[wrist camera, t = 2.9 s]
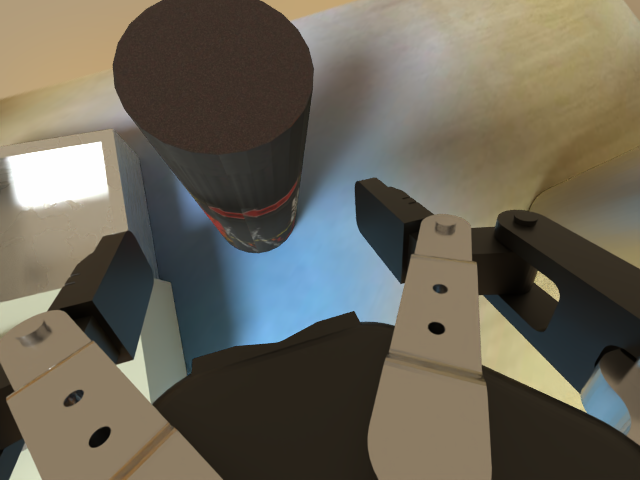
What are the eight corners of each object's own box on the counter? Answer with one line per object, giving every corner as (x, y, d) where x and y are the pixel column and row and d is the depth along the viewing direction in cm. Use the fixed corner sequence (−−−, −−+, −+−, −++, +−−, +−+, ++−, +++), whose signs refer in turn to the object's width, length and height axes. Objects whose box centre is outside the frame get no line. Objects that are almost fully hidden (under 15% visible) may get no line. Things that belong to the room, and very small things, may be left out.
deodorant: (297, 250, 24) (321, 153, 9) (217, 255, 23) (105, 156, 8) (292, 178, 25) (306, -6, 10) (216, 181, 24) (118, -16, 10)
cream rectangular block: (170, 282, 22) (121, 269, 15) (194, 415, 20) (149, 466, 14) (-22, 329, 20) (-177, 338, 13) (-14, 482, 18) (-188, 581, 12)
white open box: (138, 156, 24) (112, 128, 20) (160, 285, 22) (136, 279, 18) (-18, 184, 22) (-78, 159, 18) (-10, 327, 20) (-75, 330, 16)
